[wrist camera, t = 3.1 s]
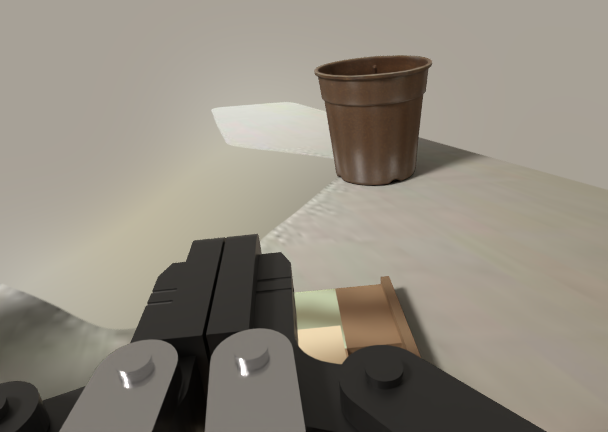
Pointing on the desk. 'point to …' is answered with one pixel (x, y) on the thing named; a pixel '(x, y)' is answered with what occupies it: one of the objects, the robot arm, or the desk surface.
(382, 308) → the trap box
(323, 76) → the plant pot
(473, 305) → the desk surface
